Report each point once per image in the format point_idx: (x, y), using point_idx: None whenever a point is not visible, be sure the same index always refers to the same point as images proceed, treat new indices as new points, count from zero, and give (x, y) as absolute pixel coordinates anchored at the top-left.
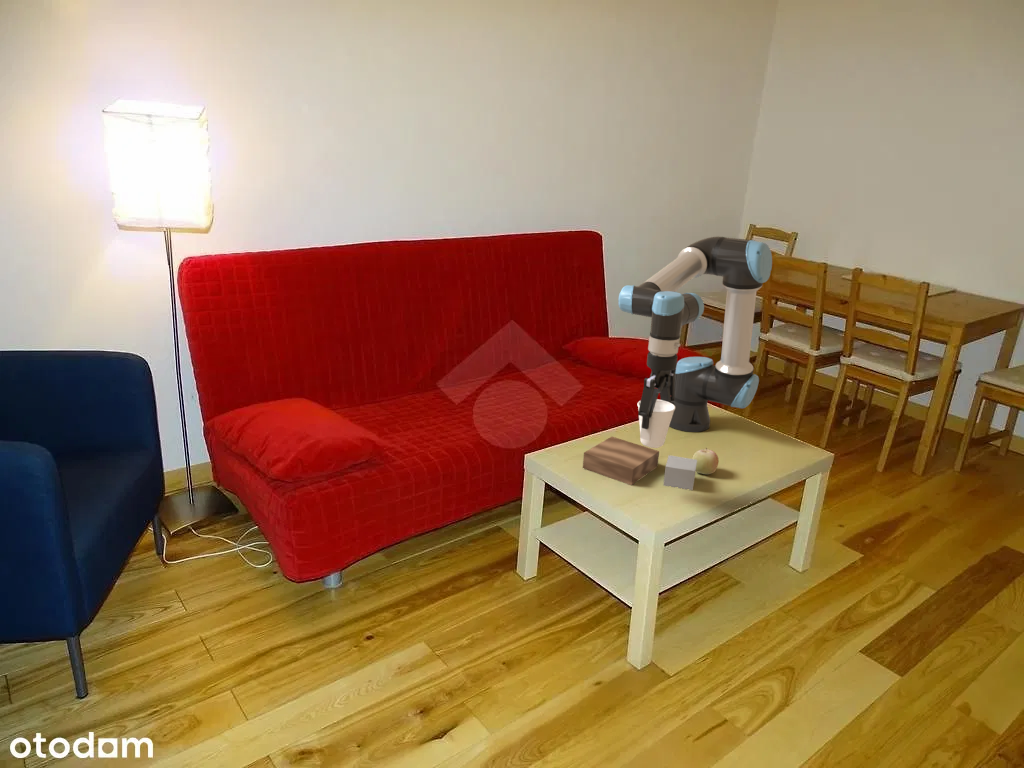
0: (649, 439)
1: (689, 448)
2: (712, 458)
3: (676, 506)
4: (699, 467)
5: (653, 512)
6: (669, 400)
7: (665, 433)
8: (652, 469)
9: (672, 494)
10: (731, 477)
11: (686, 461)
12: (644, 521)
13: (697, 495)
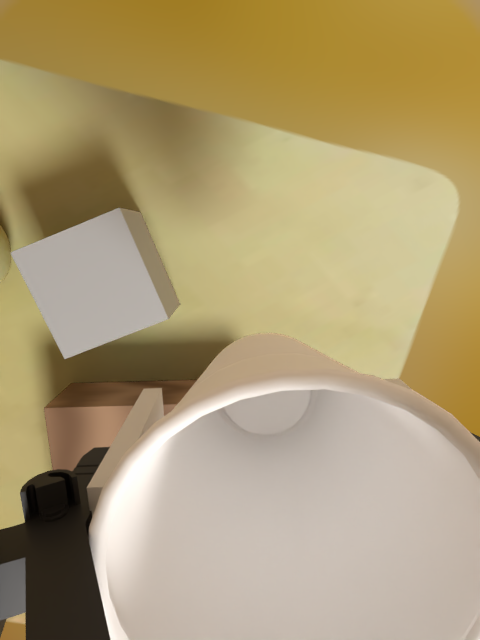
0: (403, 382)
1: None
2: None
3: (284, 200)
4: (6, 247)
5: (371, 238)
6: (73, 547)
7: (280, 343)
8: (108, 383)
9: (217, 250)
10: None
11: (61, 278)
12: (442, 231)
13: (161, 181)
